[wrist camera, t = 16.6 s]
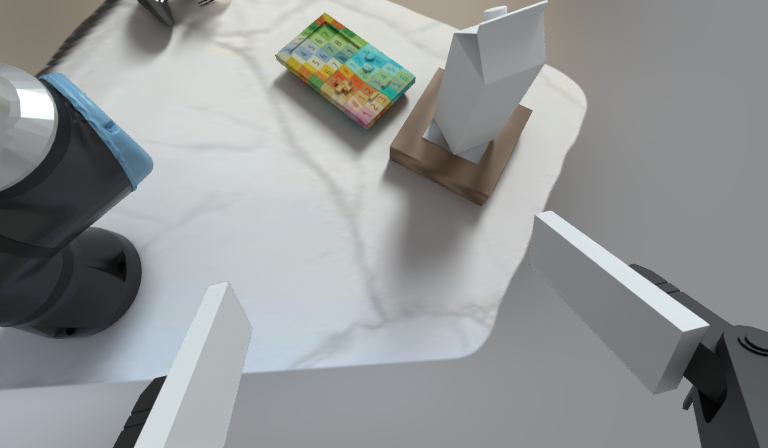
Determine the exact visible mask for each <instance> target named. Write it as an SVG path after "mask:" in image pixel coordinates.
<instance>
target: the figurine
mask: <svg viewBox="0 0 768 448" xmlns="http://www.w3.org/2000/svg"><path fill="white" fill-rule="evenodd" d="M167 1H168V0H138V2H139V3H140V4H141V5H142V6H143V7H145V8H146V9H147V10H149V11H151V12H152V13H153V14H154V15H155V16H156V17H157V18H158V19H159V20H160V21H161V22H162V23H163V24H165V25H166V26H169V27H172V26H173V20H172V17H171V13H170V9H169V6H168V2H167ZM205 1H207V0H203V1H201V2H199V3H198V4H200V3H202V2H205ZM211 1H213V0H210V1H208V2H207V3H205V4H208V3H209V2H211ZM205 4H203V5H205ZM201 6H202V5H201ZM199 7H200V6H199Z"/></svg>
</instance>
